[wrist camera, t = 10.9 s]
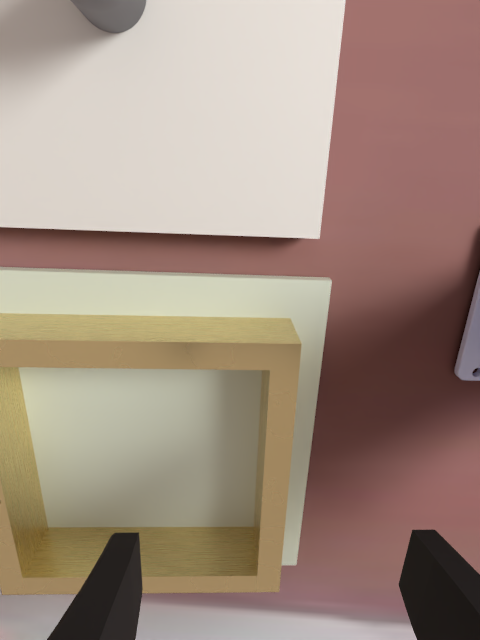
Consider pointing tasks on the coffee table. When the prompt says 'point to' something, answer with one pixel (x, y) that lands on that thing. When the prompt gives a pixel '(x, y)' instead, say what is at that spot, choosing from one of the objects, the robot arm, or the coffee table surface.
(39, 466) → the mat
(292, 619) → the coffee table surface
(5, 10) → the post stand
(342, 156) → the coffee table surface
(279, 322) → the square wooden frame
